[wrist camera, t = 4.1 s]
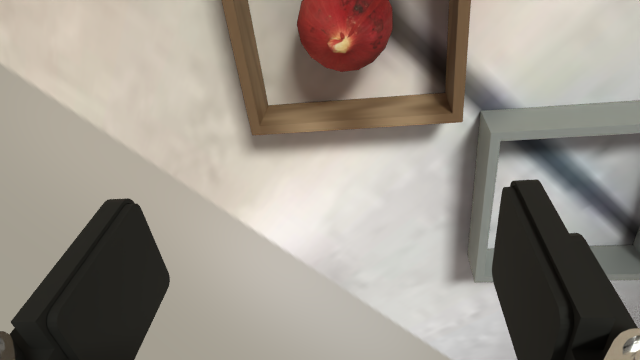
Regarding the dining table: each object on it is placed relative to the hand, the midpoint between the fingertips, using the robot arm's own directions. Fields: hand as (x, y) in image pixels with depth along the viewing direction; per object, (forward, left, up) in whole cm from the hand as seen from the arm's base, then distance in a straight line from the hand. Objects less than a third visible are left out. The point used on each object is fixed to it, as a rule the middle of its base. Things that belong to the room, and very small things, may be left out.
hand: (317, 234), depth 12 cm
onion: (0, 0, -24) cm, 24 cm away
